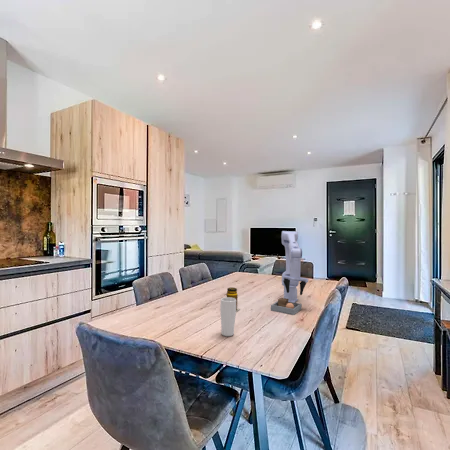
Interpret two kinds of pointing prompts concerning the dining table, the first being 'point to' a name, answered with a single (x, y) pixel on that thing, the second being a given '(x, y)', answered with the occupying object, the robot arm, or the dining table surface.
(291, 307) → the ball
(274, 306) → the tray
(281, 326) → the dining table surface
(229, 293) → the condiment
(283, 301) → the cube
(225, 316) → the drinking glass
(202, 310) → the dining table surface
